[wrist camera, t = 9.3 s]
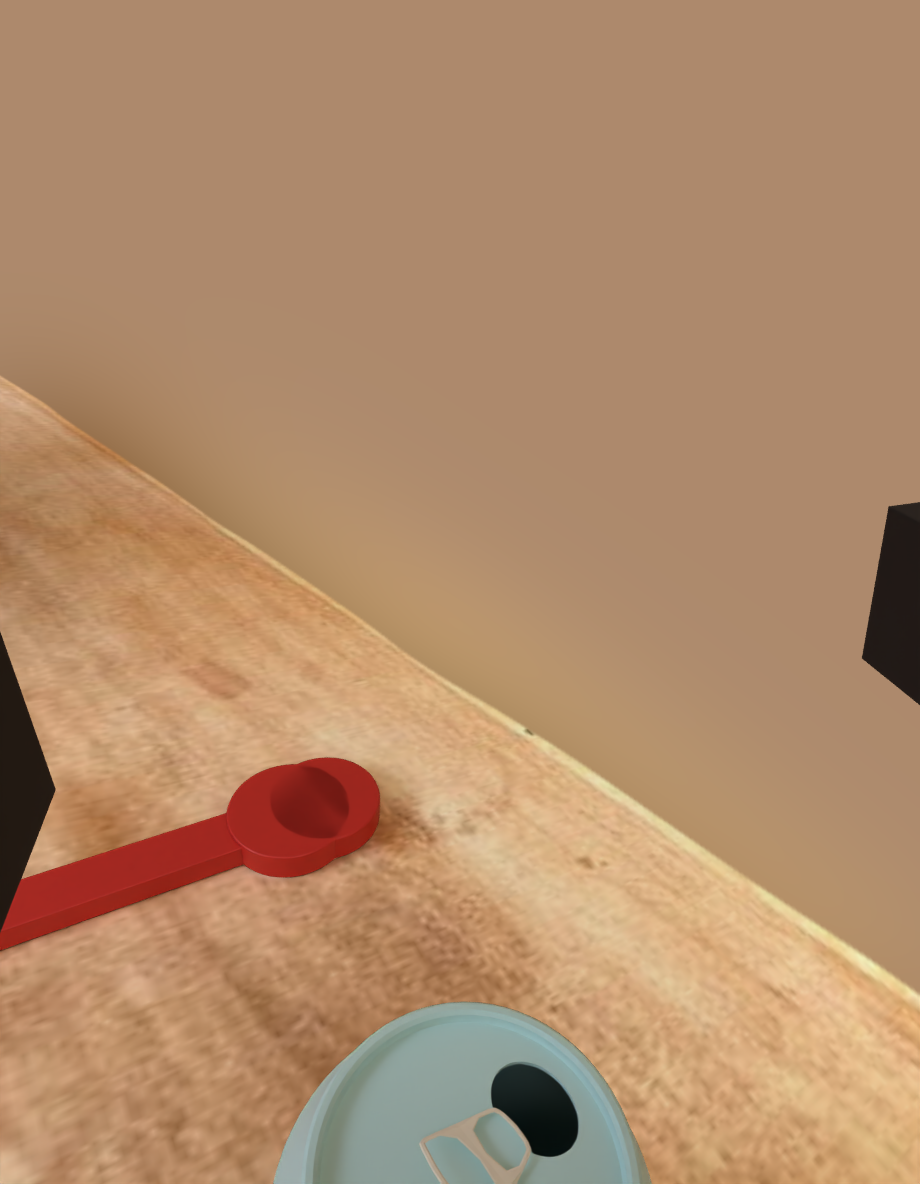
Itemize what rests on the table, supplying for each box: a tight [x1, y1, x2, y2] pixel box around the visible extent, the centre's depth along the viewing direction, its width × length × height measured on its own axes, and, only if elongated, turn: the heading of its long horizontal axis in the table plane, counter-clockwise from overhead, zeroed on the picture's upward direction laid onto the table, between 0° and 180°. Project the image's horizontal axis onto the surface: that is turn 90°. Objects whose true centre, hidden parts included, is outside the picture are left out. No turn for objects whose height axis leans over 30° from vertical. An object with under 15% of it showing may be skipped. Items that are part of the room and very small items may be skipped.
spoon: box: [0, 758, 380, 950], centre depth 32 cm, size 20×5×1 cm, turn 119°
